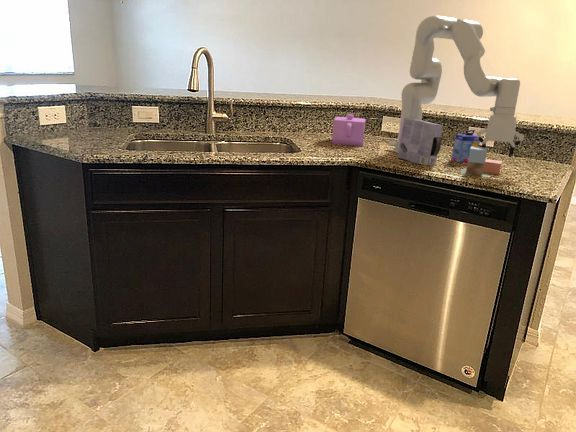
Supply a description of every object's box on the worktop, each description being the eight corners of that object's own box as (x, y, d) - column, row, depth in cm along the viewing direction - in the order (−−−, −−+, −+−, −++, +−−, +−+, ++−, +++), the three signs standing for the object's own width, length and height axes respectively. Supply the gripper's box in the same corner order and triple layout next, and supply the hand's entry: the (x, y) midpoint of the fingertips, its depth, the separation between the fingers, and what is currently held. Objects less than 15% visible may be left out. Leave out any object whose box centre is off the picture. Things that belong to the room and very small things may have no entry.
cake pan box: (438, 167, 195) (445, 124, 190) (429, 168, 193) (436, 124, 187) (404, 157, 211) (410, 117, 205) (396, 158, 208) (402, 117, 202)
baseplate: (459, 175, 184) (460, 173, 183) (461, 171, 190) (461, 169, 189) (487, 179, 180) (487, 177, 180) (488, 175, 186) (488, 173, 186)
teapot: (363, 139, 249) (365, 112, 244) (362, 148, 226) (365, 118, 221) (334, 137, 251) (336, 110, 246) (331, 145, 228) (333, 116, 223)
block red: (482, 173, 188) (485, 161, 187) (483, 170, 194) (486, 159, 192) (498, 176, 186) (501, 163, 184) (499, 173, 191) (502, 161, 190)
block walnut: (465, 174, 183) (467, 161, 181) (466, 170, 188) (469, 158, 186) (481, 176, 180) (484, 163, 179) (482, 173, 185) (485, 160, 184)
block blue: (467, 161, 181) (470, 148, 179) (469, 158, 186) (471, 146, 184) (484, 163, 178) (487, 150, 177) (485, 160, 184) (487, 148, 182)
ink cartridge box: (458, 164, 202) (464, 130, 197) (449, 161, 207) (455, 128, 202) (476, 163, 206) (482, 130, 201) (467, 160, 211) (473, 128, 206)
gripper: (479, 110, 181) (472, 154, 187) (529, 114, 175) (520, 159, 180) (480, 109, 188) (473, 151, 193) (528, 112, 181) (520, 156, 187)
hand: (496, 155), depth 187 cm, fingers open, 9 cm apart
